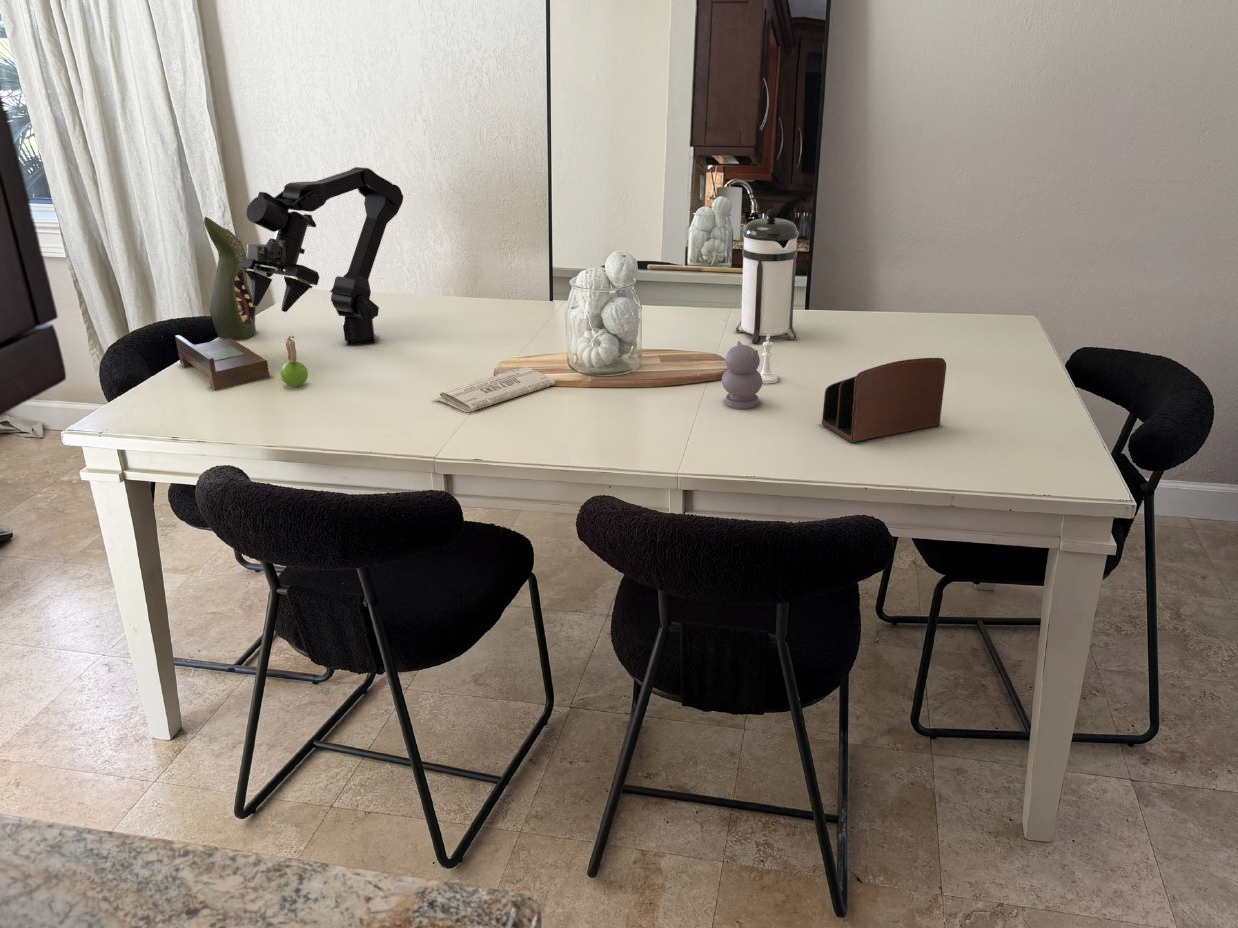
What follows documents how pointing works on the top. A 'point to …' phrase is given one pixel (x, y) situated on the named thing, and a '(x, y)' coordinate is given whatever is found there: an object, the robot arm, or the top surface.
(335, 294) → the robot arm
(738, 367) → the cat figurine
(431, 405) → the top surface
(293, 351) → the snail figurine
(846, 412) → the letter holder
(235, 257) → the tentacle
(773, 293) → the coffee press
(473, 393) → the newspaper
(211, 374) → the wooden display stand
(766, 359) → the chess piece
